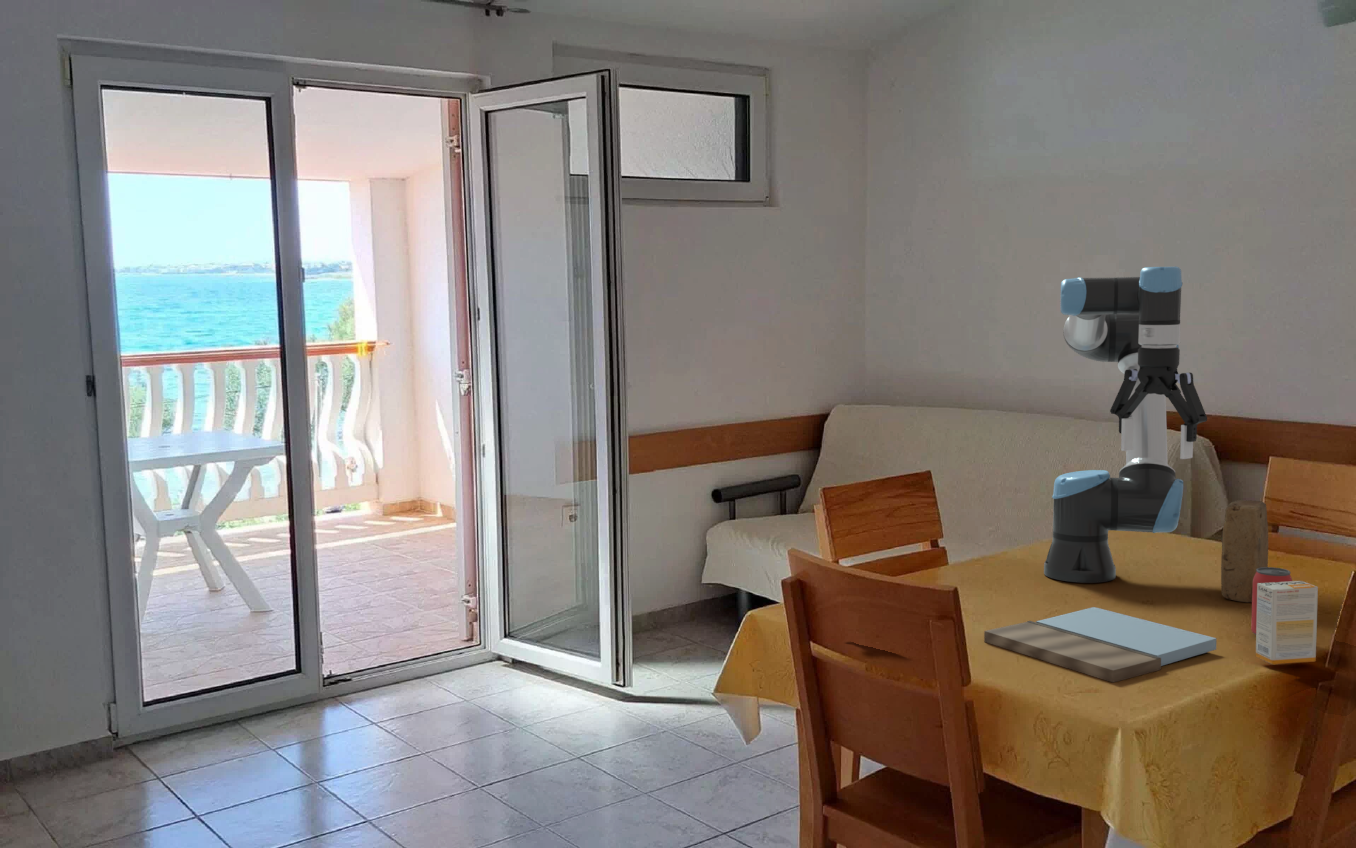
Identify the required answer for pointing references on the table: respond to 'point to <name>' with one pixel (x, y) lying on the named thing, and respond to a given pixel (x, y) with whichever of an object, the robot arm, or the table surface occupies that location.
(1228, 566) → the block
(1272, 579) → the beer can
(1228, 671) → the table surface
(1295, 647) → the supplement box
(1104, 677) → the floor board
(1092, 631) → the plank
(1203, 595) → the table surface
